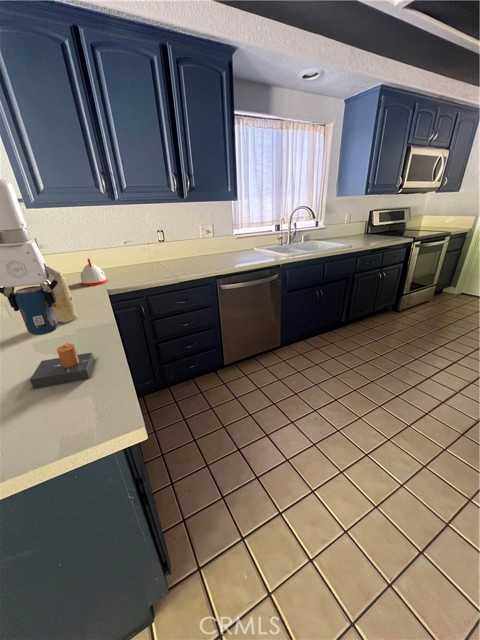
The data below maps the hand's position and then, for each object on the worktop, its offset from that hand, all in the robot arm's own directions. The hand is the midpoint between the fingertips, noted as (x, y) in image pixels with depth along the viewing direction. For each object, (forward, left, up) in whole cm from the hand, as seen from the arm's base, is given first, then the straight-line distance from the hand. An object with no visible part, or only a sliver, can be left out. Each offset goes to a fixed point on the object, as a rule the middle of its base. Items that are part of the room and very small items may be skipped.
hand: (35, 306), depth 70 cm
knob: (+4, 0, -19) cm, 19 cm away
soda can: (0, 0, -7) cm, 7 cm away
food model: (-9, +44, -22) cm, 50 cm away
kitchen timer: (-6, +105, -22) cm, 108 cm away
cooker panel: (+1, 0, -22) cm, 22 cm away
